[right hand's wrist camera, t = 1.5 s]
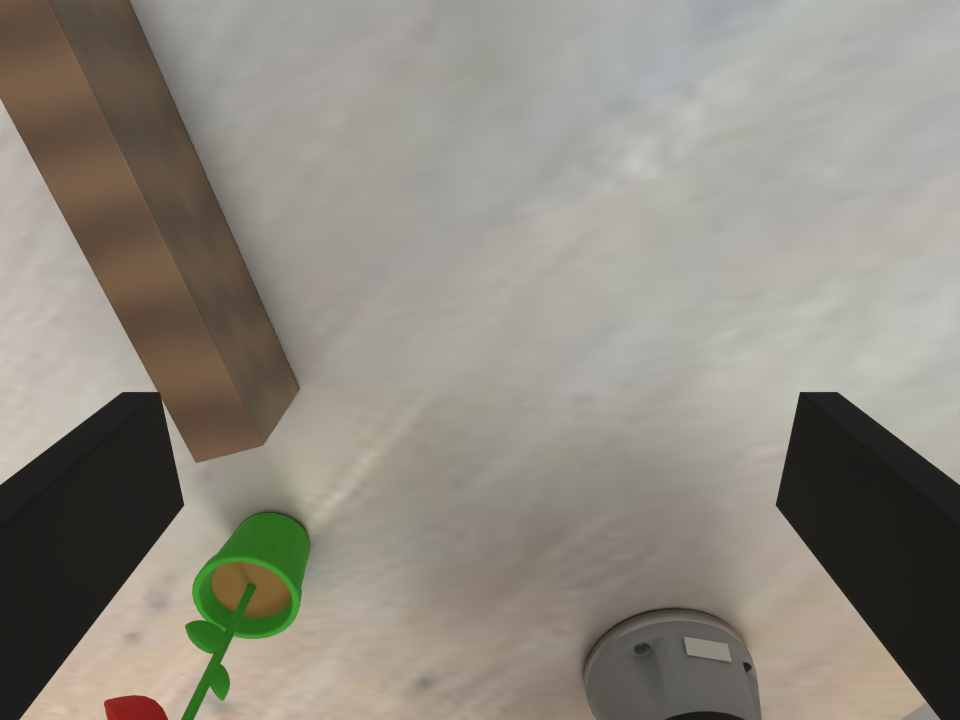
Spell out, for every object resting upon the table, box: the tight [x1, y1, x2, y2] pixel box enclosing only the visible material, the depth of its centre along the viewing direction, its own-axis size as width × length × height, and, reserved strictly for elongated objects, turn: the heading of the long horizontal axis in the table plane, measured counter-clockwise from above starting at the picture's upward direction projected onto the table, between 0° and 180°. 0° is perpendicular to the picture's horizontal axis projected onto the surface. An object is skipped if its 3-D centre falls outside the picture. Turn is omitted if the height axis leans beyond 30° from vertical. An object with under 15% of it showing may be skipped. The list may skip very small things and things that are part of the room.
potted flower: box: [104, 513, 310, 720], centre depth 39 cm, size 9×8×25 cm
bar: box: [0, 0, 300, 463], centre depth 37 cm, size 28×5×8 cm, turn 16°
